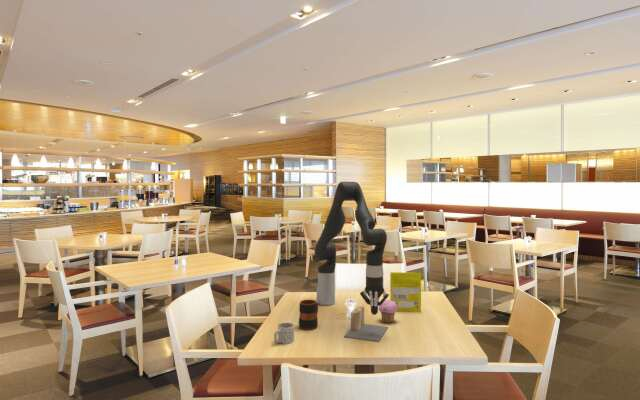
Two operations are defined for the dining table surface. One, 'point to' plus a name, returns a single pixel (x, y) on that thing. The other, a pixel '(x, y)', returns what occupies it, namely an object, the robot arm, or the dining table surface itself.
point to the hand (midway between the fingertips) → (374, 314)
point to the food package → (406, 291)
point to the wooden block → (357, 318)
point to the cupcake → (388, 310)
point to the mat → (367, 332)
